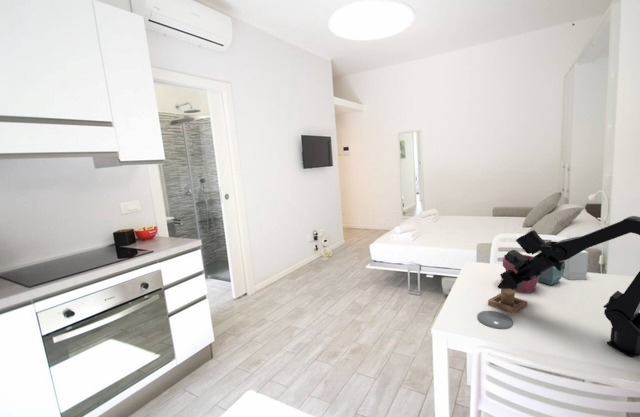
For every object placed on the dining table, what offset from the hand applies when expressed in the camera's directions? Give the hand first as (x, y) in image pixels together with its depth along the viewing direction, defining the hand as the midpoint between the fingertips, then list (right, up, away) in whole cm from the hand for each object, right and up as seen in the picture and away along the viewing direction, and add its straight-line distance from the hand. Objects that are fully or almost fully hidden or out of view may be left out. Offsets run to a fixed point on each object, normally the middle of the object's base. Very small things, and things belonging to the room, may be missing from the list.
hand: (504, 284), depth 115 cm
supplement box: (+43, -2, +20) cm, 48 cm away
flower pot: (+29, -3, +17) cm, 34 cm away
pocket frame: (+1, -8, 0) cm, 8 cm away
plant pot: (+16, -5, +14) cm, 22 cm away
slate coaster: (-9, -10, -9) cm, 16 cm away
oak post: (+1, -8, 0) cm, 8 cm away
